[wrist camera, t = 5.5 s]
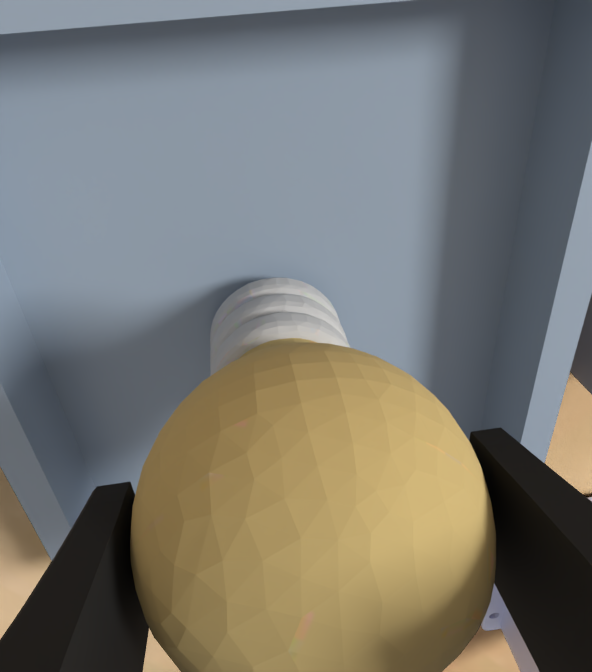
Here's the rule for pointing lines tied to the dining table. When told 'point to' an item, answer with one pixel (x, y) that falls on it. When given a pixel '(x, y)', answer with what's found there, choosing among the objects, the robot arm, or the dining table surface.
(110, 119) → the parts tray
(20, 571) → the dining table surface
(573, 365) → the socket block
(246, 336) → the light bulb
